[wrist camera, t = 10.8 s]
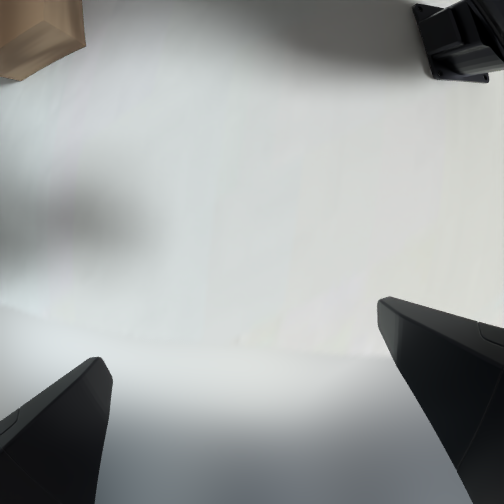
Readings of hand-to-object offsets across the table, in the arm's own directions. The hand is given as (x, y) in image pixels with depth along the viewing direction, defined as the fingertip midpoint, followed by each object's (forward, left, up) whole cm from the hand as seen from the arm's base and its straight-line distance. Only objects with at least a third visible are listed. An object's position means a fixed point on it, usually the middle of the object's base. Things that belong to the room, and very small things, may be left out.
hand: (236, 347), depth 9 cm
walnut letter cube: (+10, -19, -12) cm, 24 cm away
